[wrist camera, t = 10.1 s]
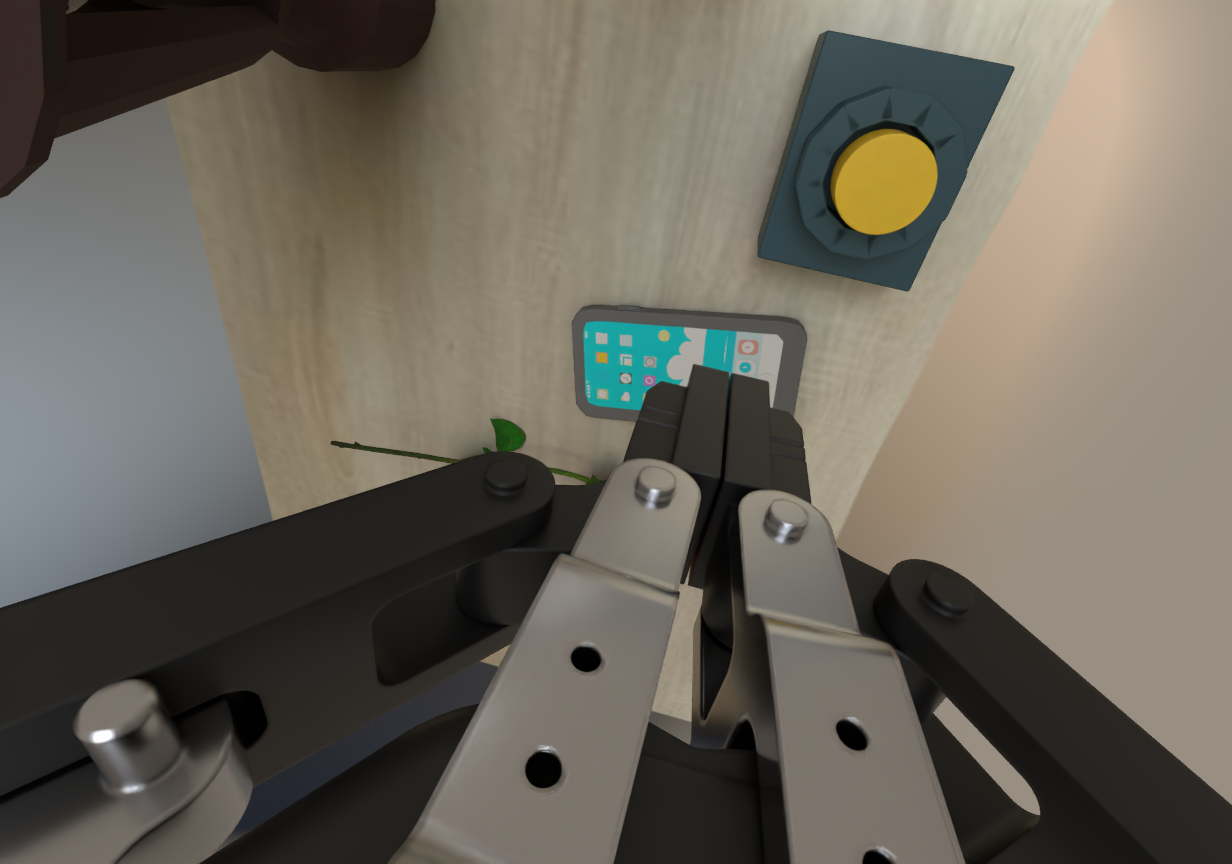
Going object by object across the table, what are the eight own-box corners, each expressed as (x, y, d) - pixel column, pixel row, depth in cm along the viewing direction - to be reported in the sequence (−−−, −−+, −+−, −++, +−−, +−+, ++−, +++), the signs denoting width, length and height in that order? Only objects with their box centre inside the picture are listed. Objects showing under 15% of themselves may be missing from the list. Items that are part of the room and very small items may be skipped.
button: (850, 119, 25) (856, 124, 23) (943, 139, 25) (956, 144, 23) (817, 214, 27) (820, 223, 26) (902, 232, 27) (911, 244, 25)
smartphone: (789, 440, 39) (576, 418, 42) (788, 432, 40) (579, 412, 43) (810, 321, 34) (570, 305, 37) (809, 315, 35) (574, 300, 38)
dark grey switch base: (819, 33, 28) (831, 27, 23) (985, 66, 27) (1034, 67, 22) (757, 238, 34) (756, 268, 29) (894, 269, 33) (917, 306, 28)
